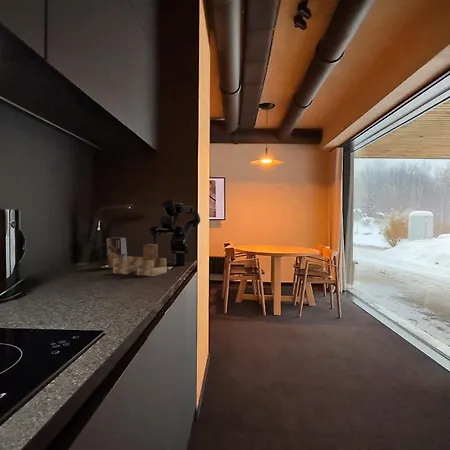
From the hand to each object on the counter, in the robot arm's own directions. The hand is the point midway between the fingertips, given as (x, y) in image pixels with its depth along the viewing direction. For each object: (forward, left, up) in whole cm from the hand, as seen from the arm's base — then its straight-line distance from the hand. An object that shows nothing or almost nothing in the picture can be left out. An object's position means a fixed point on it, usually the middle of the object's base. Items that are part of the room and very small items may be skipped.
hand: (162, 243), depth 201 cm
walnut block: (+11, -2, -11) cm, 16 cm away
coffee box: (-9, -29, -14) cm, 33 cm away
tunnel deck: (+9, -9, -14) cm, 19 cm away
